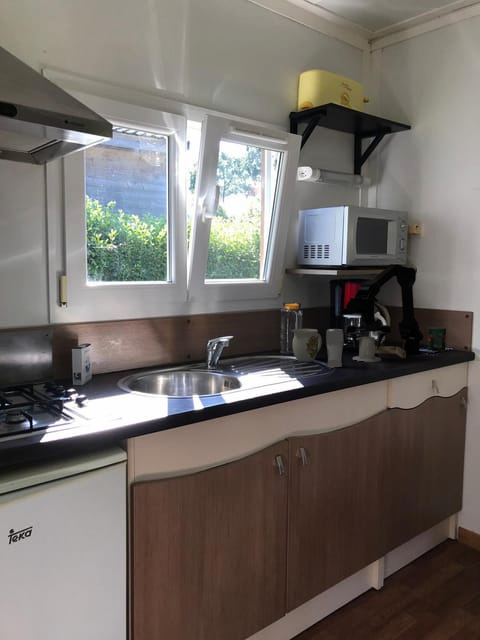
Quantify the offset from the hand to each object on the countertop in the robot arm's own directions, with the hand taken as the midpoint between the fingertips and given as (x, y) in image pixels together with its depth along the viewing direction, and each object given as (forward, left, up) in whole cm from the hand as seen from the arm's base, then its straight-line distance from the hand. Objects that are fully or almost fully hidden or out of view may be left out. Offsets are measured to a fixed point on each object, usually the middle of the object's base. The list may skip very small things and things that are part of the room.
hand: (366, 348), depth 237 cm
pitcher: (+26, +2, -5) cm, 27 cm away
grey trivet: (0, 0, -5) cm, 5 cm away
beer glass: (+16, +16, -5) cm, 23 cm away
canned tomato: (-38, -26, -5) cm, 46 cm away
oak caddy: (-10, -10, -5) cm, 15 cm away
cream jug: (0, +1, -4) cm, 4 cm away
